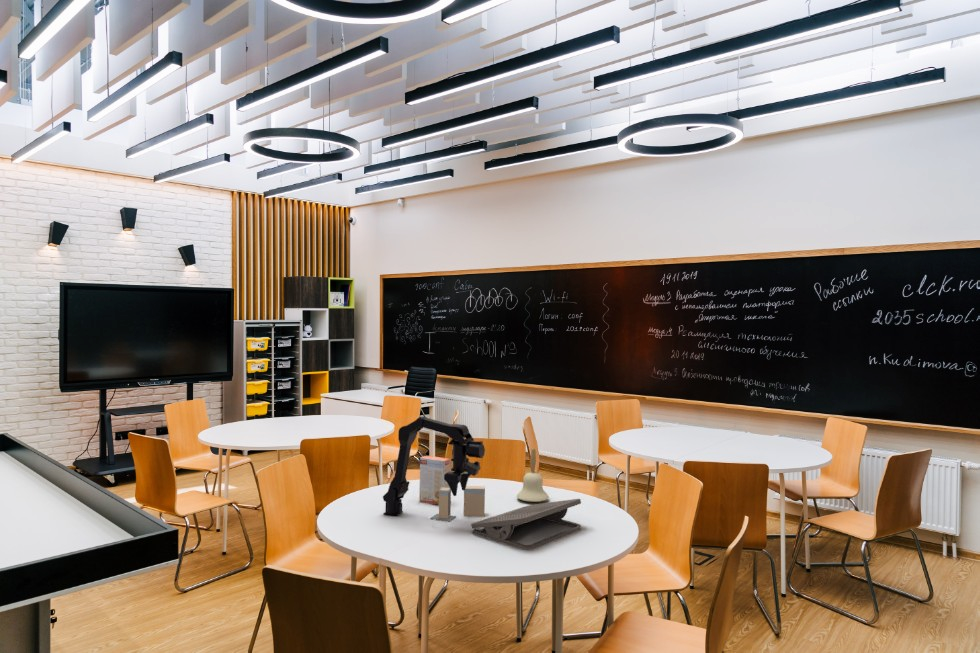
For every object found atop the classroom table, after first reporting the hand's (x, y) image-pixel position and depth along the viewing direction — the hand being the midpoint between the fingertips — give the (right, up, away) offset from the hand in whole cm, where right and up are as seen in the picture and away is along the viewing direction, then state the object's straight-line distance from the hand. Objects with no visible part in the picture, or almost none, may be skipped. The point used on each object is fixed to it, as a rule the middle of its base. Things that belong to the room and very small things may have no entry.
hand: (459, 493), depth 264 cm
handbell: (+33, -14, +38) cm, 52 cm away
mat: (-7, -13, +8) cm, 17 cm away
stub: (-7, -13, +8) cm, 16 cm away
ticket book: (+6, -13, +13) cm, 20 cm away
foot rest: (+28, -14, -6) cm, 32 cm away
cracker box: (-13, -13, +31) cm, 37 cm away
